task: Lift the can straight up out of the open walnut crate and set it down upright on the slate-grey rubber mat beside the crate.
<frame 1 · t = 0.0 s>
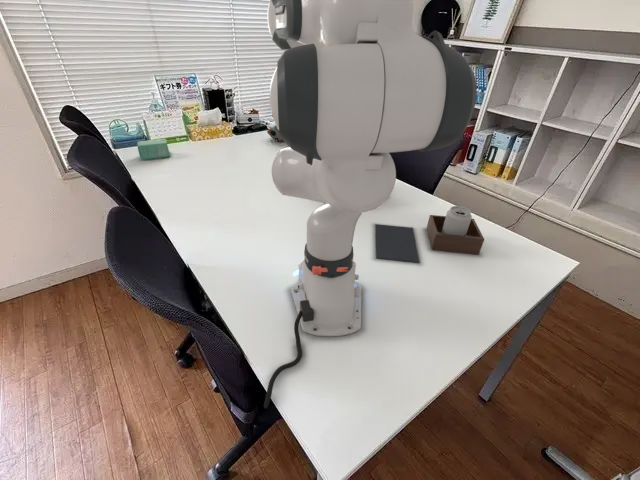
hand: (324, 118, 85), 39 cm above the table, tool pointing down, fingers open, 8 cm apart
mat: (395, 242, 108), on the table
crate: (451, 241, 109), on the table
can: (450, 242, 110), resting in crate
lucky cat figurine: (282, 139, 196), on the table
box: (155, 156, 165), on the table
tissue box cover: (351, 194, 137), on the table
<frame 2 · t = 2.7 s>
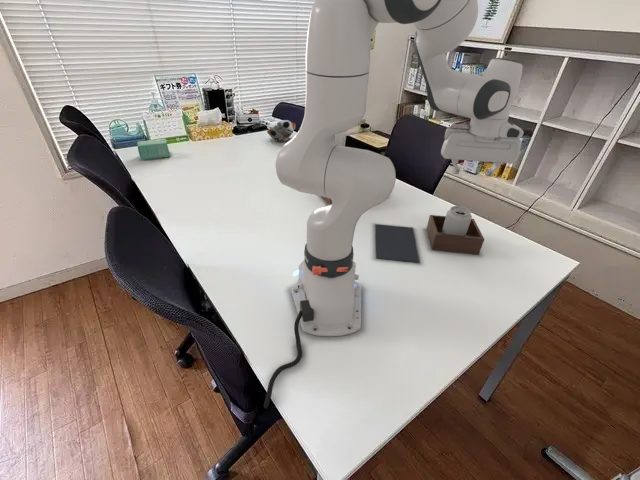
hand: (471, 174, 96), 24 cm above the table, tool pointing down, fingers open, 8 cm apart
nothing on the table moved.
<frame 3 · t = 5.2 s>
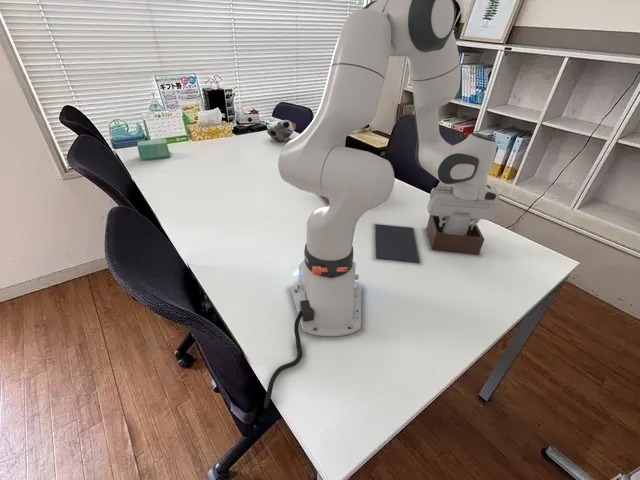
hand: (455, 227, 106), 5 cm above the table, tool pointing down, fingers closed on can, 7 cm apart
can: (450, 242, 110), resting in crate, touching gripper
everything else where it was.
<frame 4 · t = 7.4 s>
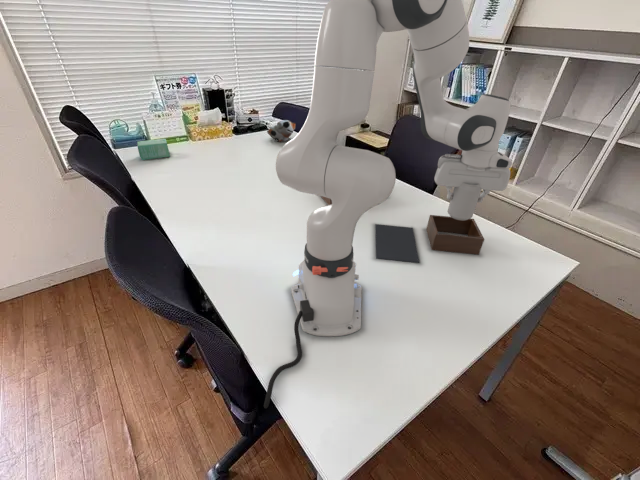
hand: (463, 200, 101), 16 cm above the table, tool pointing down, fingers closed on can, 7 cm apart
can: (458, 216, 104), point 10 cm above the table, touching gripper
everything else where it was.
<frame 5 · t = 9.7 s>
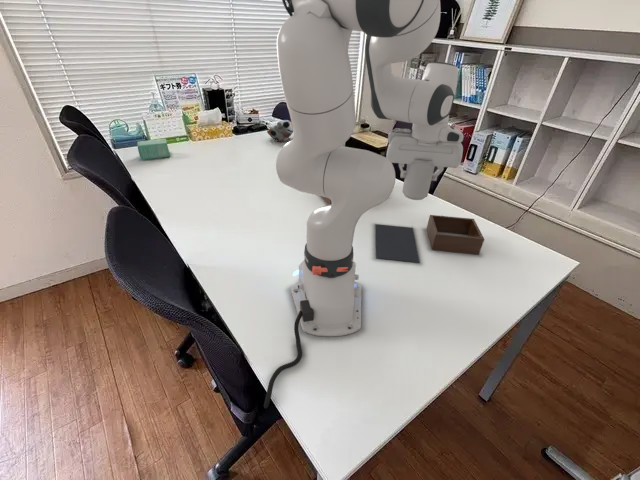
hand: (418, 178, 95), 23 cm above the table, tool pointing down, fingers closed on can, 7 cm apart
can: (414, 196, 98), point 17 cm above the table, touching gripper
everything else where it was.
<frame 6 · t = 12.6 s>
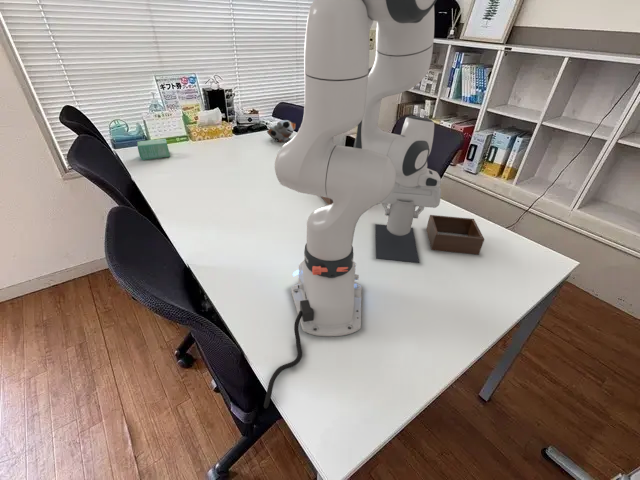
hand: (401, 216, 102), 10 cm above the table, tool pointing down, fingers closed on can, 7 cm apart
can: (397, 231, 105), point 4 cm above the table, touching gripper
everything else where it was.
when the fingers open (6 cm above the table, at t = 14.3 s): can stays where it is, resting on mat.
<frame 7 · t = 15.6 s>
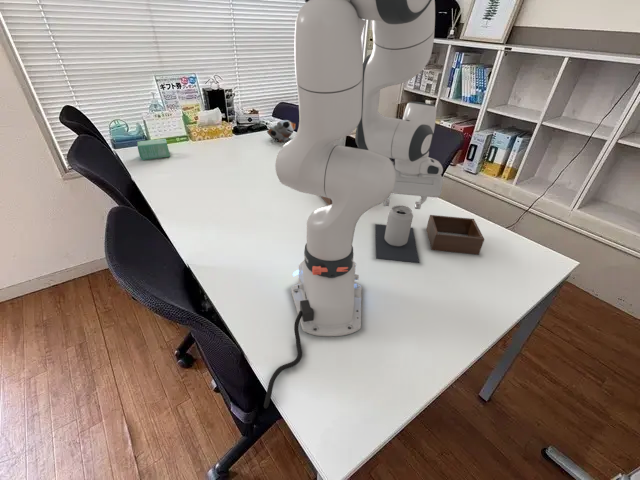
hand: (401, 206, 100), 13 cm above the table, tool pointing down, fingers open, 8 cm apart
can: (395, 241, 108), resting on mat
everything else where it was.
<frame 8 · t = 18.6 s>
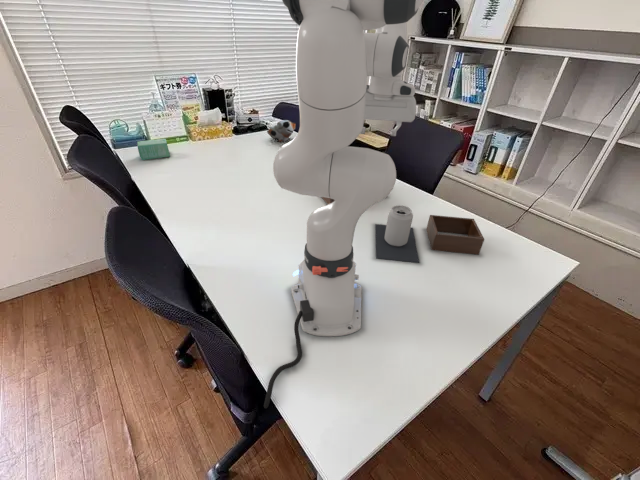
hand: (377, 134, 101), 31 cm above the table, tool pointing down, fingers open, 8 cm apart
nothing on the table moved.
at the end: can inside the target area on the mat (0.1 cm from its centre), point 0.2 cm above the mat's base; can tilted 0°; the gripper is holding nothing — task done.
